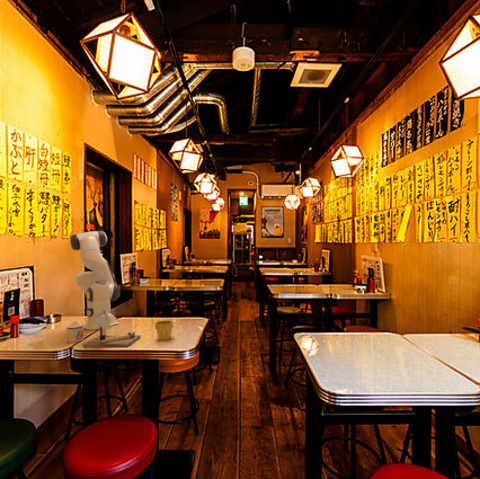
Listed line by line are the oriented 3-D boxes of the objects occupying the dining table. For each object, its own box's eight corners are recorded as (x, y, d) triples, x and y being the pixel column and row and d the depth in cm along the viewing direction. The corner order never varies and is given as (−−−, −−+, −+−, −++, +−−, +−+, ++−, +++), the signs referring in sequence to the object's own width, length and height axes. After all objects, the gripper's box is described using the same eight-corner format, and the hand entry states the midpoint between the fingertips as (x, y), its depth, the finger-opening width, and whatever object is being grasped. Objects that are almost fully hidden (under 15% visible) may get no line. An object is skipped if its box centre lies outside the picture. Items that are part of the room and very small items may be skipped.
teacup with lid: (78, 343, 193) (77, 323, 193) (63, 343, 194) (63, 323, 194) (89, 337, 205) (89, 318, 205) (76, 337, 206) (75, 318, 206)
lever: (133, 335, 200) (133, 321, 200) (135, 336, 196) (135, 322, 197) (99, 342, 188) (98, 326, 188) (101, 343, 184) (100, 328, 185)
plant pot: (164, 342, 190) (164, 324, 190) (151, 339, 195) (151, 323, 196) (177, 337, 199) (176, 321, 199) (164, 335, 204) (163, 319, 204)
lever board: (99, 338, 203) (99, 335, 203) (140, 337, 200) (140, 335, 200) (82, 347, 185) (82, 344, 185) (127, 347, 182) (127, 343, 182)
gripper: (112, 311, 181) (113, 336, 181) (103, 306, 198) (104, 329, 197) (100, 312, 177) (101, 338, 177) (92, 308, 194) (92, 331, 194)
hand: (102, 334), depth 187 cm, fingers open, 4 cm apart
